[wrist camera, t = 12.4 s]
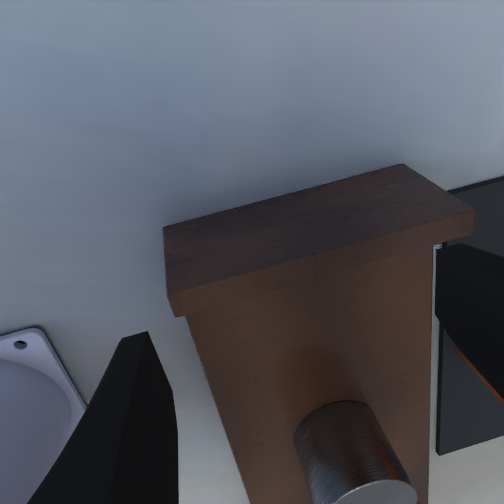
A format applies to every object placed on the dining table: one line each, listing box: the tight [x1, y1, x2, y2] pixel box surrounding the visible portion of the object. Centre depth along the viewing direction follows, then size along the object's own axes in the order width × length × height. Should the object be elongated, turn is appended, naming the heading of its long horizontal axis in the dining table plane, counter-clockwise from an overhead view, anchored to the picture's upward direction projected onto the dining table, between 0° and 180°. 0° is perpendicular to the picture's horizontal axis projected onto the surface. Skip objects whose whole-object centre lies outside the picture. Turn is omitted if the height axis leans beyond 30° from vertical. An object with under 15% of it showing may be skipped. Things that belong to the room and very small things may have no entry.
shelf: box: [163, 164, 475, 504], centre depth 24 cm, size 11×26×5 cm, turn 11°
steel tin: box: [294, 401, 418, 504], centre depth 22 cm, size 5×5×4 cm
